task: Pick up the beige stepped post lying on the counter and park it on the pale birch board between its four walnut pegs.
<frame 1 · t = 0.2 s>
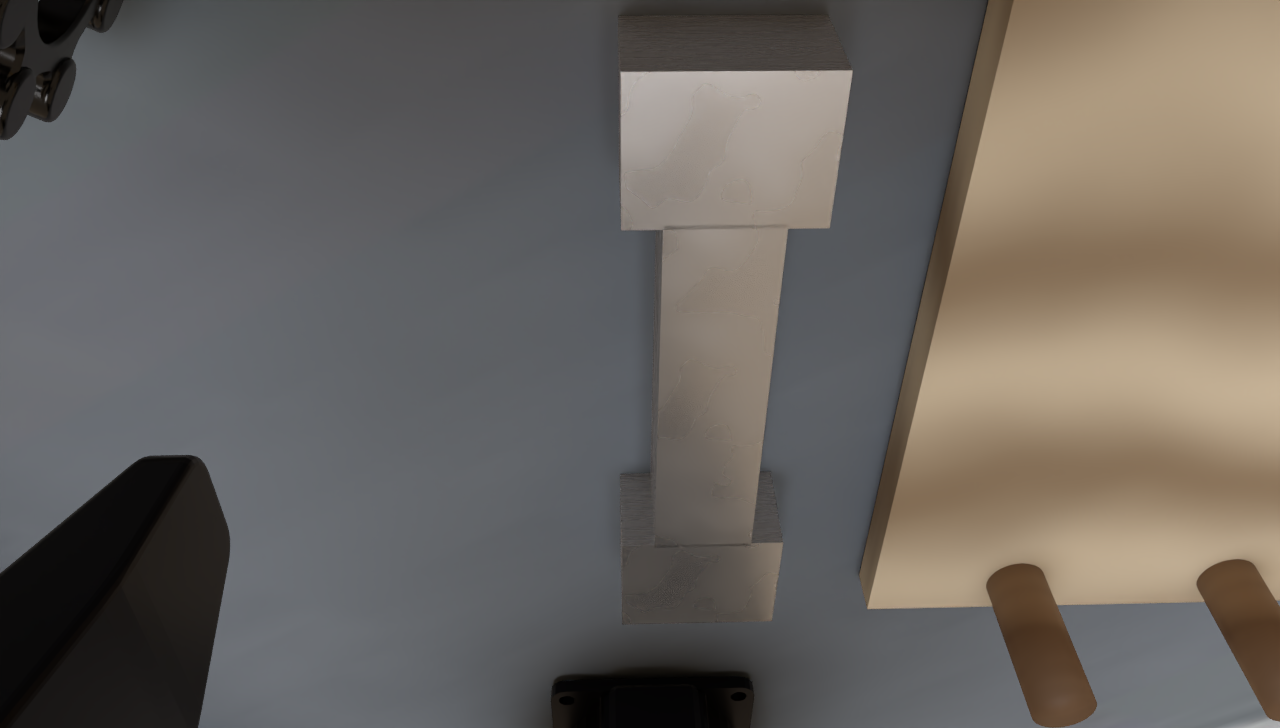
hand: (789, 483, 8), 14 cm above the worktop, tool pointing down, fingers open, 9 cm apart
beige stepped post: (703, 336, 25), on the worktop
peg board: (1232, 263, 24), on the worktop
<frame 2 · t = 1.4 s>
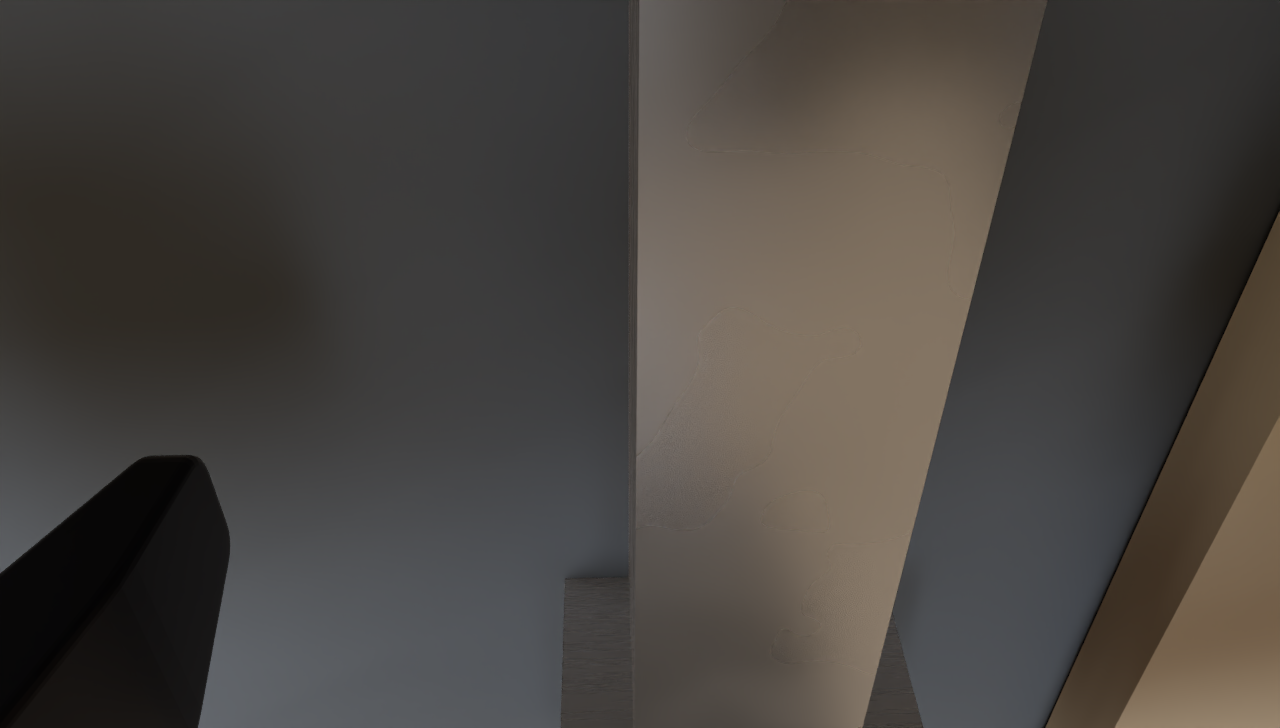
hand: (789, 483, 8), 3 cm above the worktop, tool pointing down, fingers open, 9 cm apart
beige stepped post: (750, 269, 10), on the worktop
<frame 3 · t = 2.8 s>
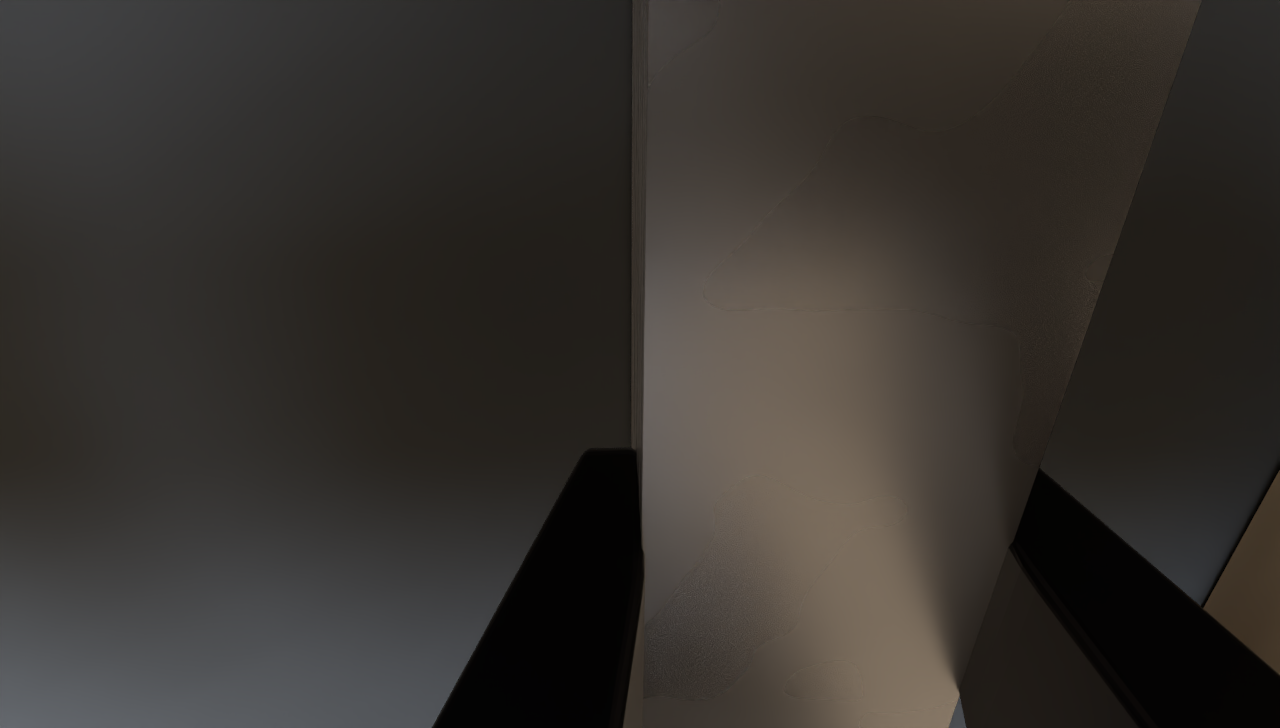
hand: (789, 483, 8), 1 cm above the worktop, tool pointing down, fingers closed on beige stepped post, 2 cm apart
beige stepped post: (768, 381, 9), on the worktop, touching gripper
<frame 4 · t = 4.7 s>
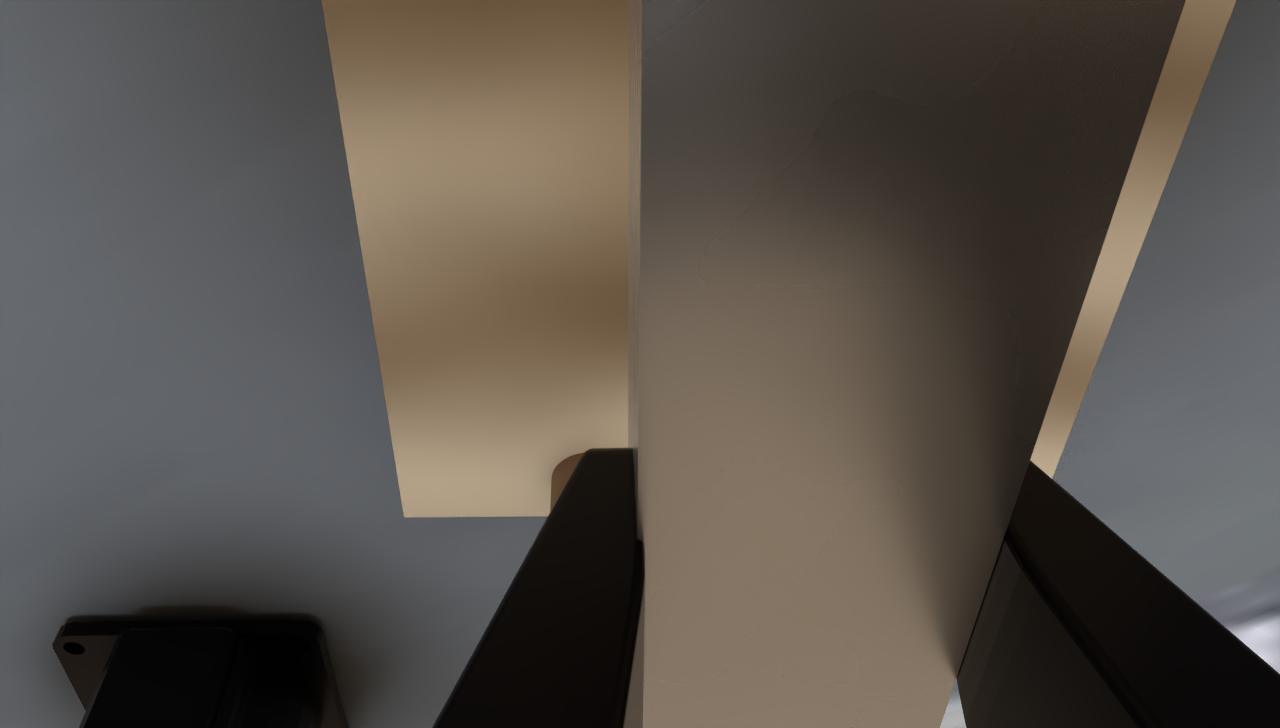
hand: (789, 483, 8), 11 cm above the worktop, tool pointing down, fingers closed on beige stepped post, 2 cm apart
beige stepped post: (765, 367, 9), point 10 cm above the worktop, touching gripper
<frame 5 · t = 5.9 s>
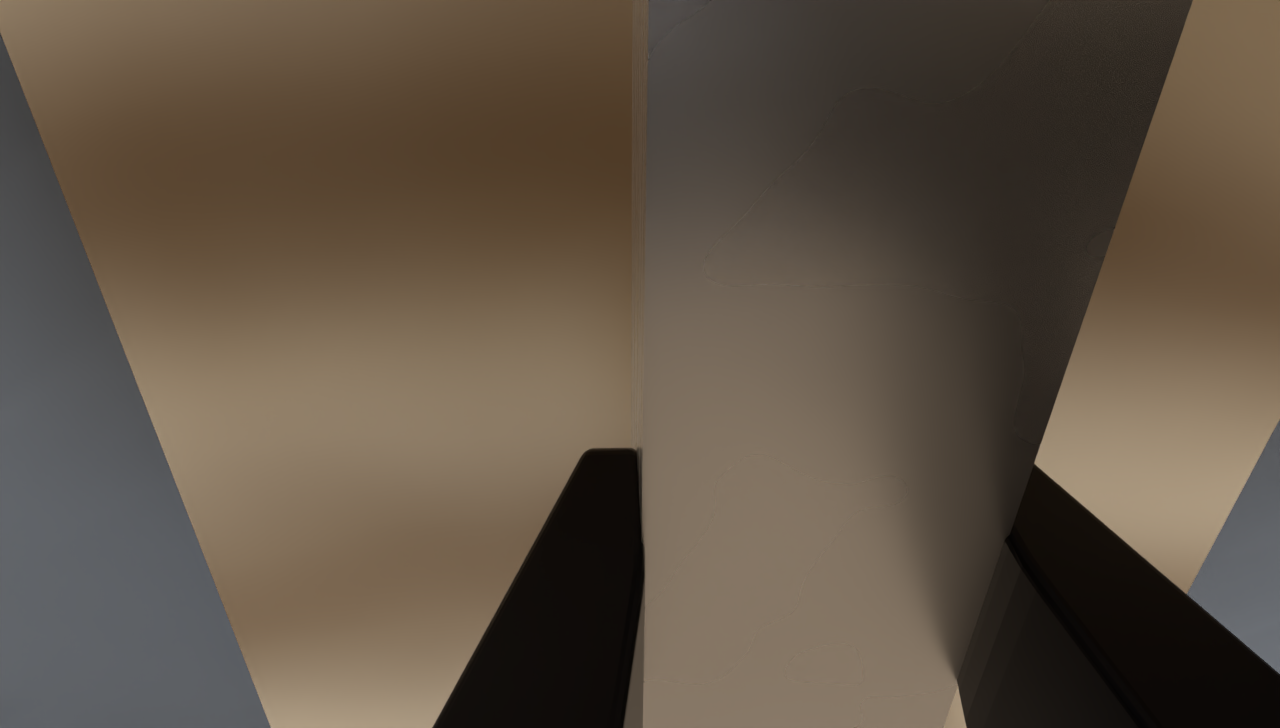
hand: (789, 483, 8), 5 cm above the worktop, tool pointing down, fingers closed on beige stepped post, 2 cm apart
beige stepped post: (769, 366, 9), point 4 cm above the worktop, touching gripper
peg board: (733, 162, 12), on the worktop
when the fingers open (4 cm above the worktop, at t = 6.7 s): beige stepped post drops 1 cm, resting on peg board.
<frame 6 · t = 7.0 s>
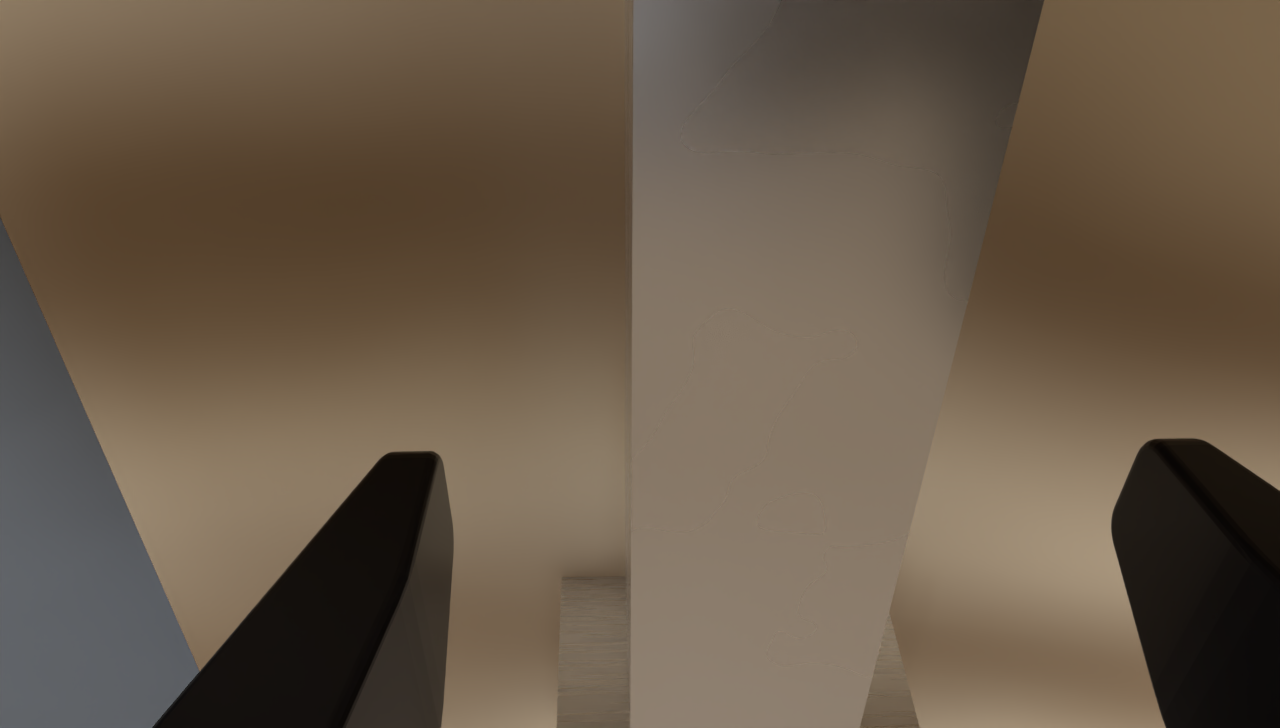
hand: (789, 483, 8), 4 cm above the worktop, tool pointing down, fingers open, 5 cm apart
beige stepped post: (747, 270, 10), point 1 cm above the worktop, touching peg board
peg board: (739, 213, 11), on the worktop
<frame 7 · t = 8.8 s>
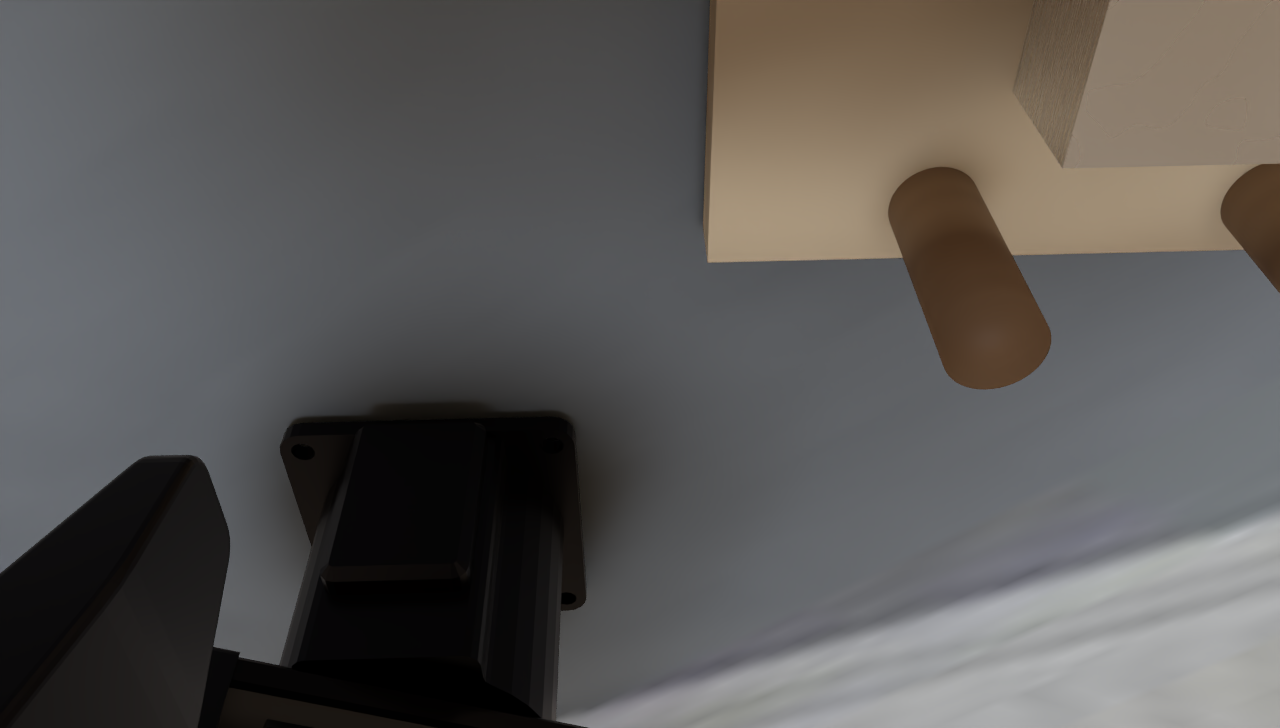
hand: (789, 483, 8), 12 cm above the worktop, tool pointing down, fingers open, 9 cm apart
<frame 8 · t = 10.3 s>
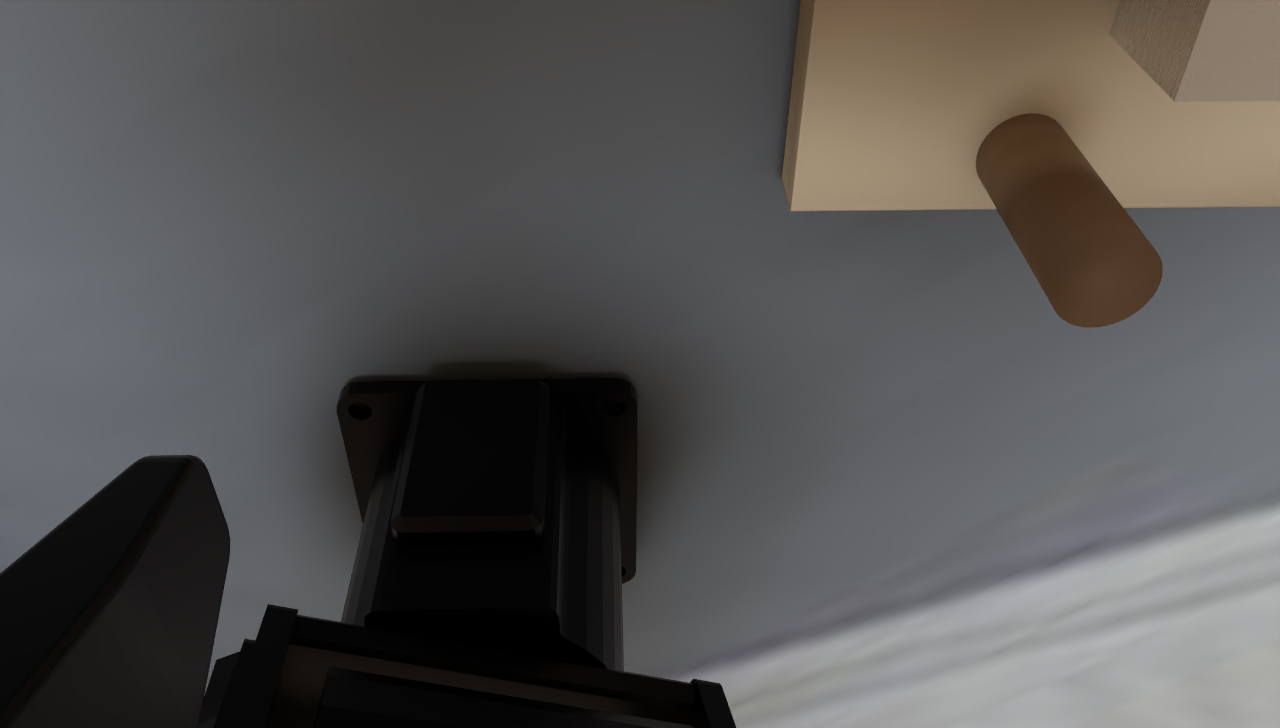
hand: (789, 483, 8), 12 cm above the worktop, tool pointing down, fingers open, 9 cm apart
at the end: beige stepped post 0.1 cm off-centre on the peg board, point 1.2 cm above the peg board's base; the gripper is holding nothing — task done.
